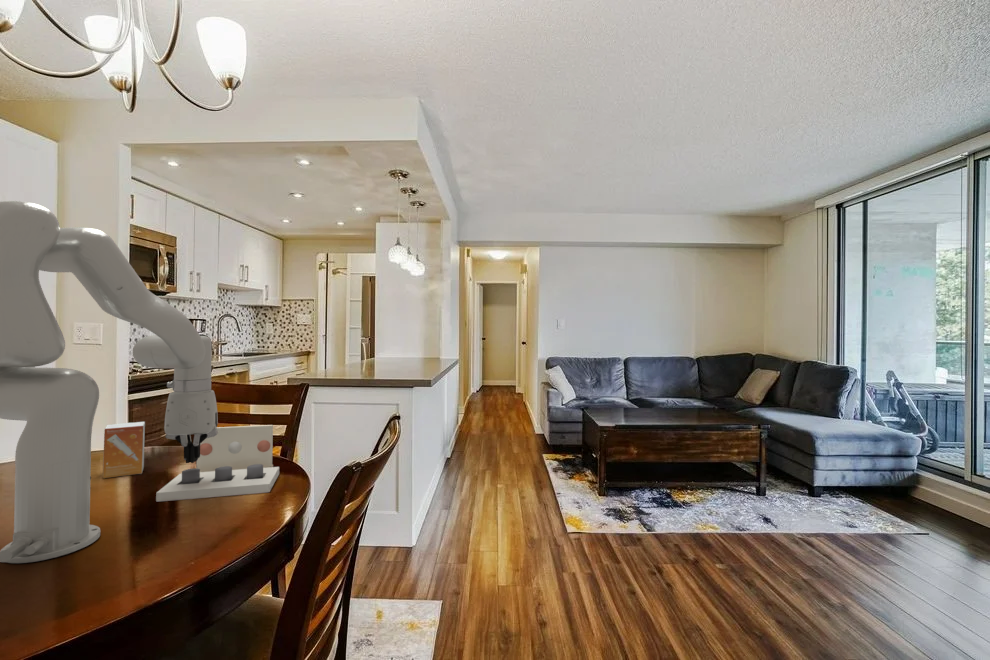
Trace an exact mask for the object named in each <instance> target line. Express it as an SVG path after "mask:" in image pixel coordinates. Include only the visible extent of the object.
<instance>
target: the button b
mask: <svg viewBox="0 0 990 660" xmlns="http://www.w3.org/2000/svg"><path fill="white" fill-rule="evenodd" d="M231 480H232V467H231V466H224V467H219V468H216V469H215V482H221V481H231Z"/></svg>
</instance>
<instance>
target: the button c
mask: <svg viewBox="0 0 990 660" xmlns="http://www.w3.org/2000/svg"><path fill="white" fill-rule="evenodd" d="M261 478H263V465H262V464H255V465H250V466H248V467H247V479H261Z"/></svg>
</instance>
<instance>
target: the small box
mask: <svg viewBox="0 0 990 660" xmlns="http://www.w3.org/2000/svg"><path fill="white" fill-rule="evenodd" d="M145 429H146V421H136V422H123V423H113V424H106V427H105V428H104V431H103V432H104V433H103V434H104V436H103V458H102V459H103V460H102V462H103V464H102V466H103V467H102V478H103V479H108V478H116V477H124V476H133V475H134V476H135V475H142V474H143V471H144V468H145Z"/></svg>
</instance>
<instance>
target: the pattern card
mask: <svg viewBox="0 0 990 660" xmlns="http://www.w3.org/2000/svg"><path fill="white" fill-rule="evenodd" d="M217 431H218V434H217V435H216V436H213V437H209V438H206V439H205V440H204V441H203V442H202V443H200V457H199V458H198V460H197V461H196V463H195V465H196V467H195V468H198V469H200V472H210V471H215V469H216V468H219V467H224V466H231V467H232V470H239V469H247V467H248V466H250V465H255V464H262V465H263V468H268V467H274V464H273V442H274V441H273V440H274V439H273V438H274V437H273V436H274V434H273V433H274V424H267V425H266V424H265V425H263V424H262V425H244V426H243V425H242V426H224V427H223V426H219V427H218V426H217Z"/></svg>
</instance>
